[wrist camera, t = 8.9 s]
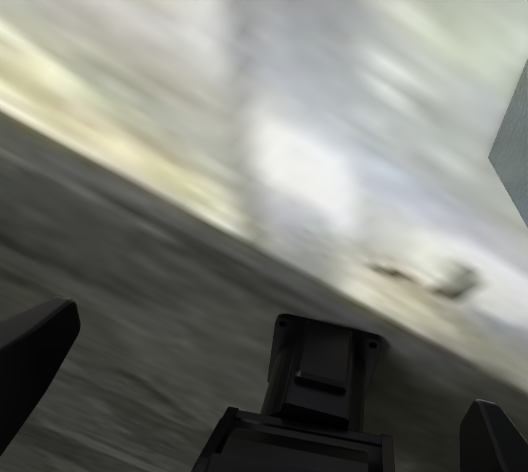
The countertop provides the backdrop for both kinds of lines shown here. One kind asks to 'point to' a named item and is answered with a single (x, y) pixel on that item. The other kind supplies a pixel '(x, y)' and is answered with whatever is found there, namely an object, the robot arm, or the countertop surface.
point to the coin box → (514, 147)
